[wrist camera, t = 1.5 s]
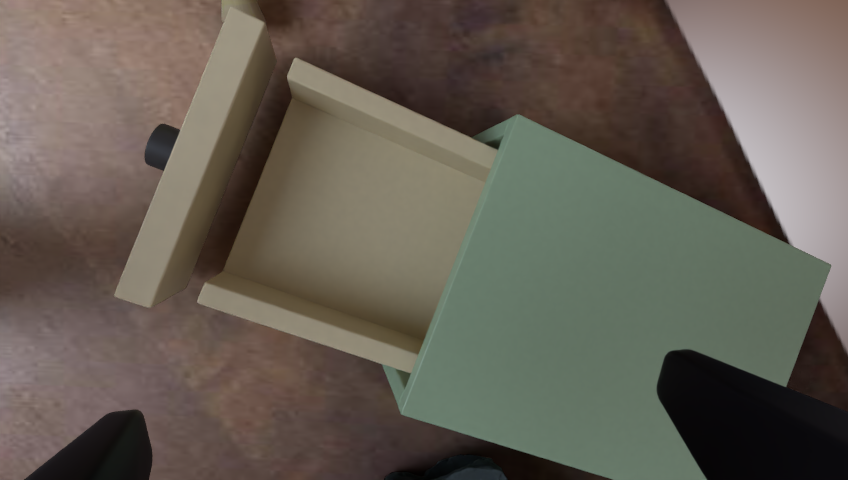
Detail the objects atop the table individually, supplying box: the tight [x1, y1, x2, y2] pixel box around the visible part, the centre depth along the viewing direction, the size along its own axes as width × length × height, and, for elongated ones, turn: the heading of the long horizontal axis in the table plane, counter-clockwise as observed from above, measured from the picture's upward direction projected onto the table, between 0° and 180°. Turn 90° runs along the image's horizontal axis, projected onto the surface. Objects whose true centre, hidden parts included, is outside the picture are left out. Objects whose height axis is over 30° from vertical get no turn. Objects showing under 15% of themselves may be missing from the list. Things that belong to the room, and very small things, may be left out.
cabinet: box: [382, 114, 831, 480], centre depth 21 cm, size 15×11×6 cm
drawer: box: [114, 7, 498, 373], centre depth 19 cm, size 16×10×4 cm, turn 68°
